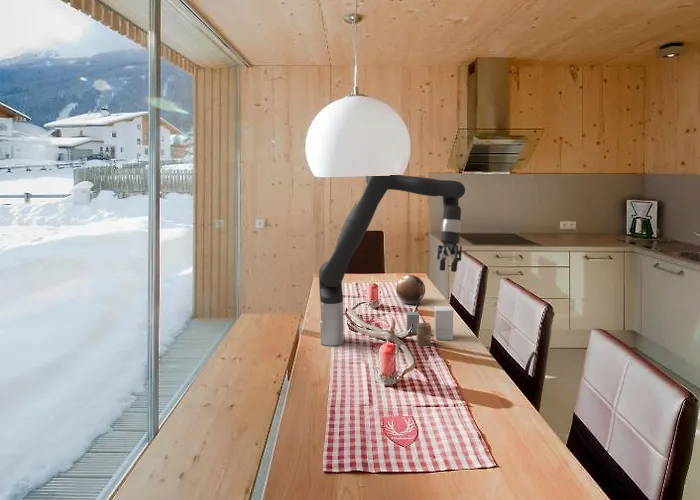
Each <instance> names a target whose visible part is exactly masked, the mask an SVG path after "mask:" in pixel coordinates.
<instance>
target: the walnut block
mask: <svg viewBox="0 0 700 500" xmlns="http://www.w3.org/2000/svg"><path fill="white" fill-rule="evenodd" d="M431 339H432V326H431V323H430V322H419V323H417V333H416V343H417V346H418V347H429V346H430V347H431V346H432V340H431Z"/></svg>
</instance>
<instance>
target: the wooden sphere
mask: <svg viewBox="0 0 700 500" xmlns="http://www.w3.org/2000/svg"><path fill="white" fill-rule="evenodd" d="M395 289H396V291H395V292H396V295H397V298H398V299H399V300H400V301H401V302H403V303H404V304H407V305H415V304H418V303H419V302H420V301H422V299H423V298H424V297H425V295H426V294H425V293H426V286H425V283H424V281H423V280H422V279H421V278H419V277H418V276H416V275H411V274H410V275H406V276H403V277H401V278H400V279H399V280H398V282H397V284H396V287H395Z"/></svg>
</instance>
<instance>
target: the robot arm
mask: <svg viewBox="0 0 700 500" xmlns="http://www.w3.org/2000/svg"><path fill="white" fill-rule="evenodd" d="M365 181H366V185H365V186H366V187H365V188H364V191H363V193H362V196H361V197H360V199H359V200H358V201H357V203H356V204H355V205H354V206H353V208H352V209H351V210H350V212H349V214H348V215H347V217H346V219H345V221H344V222H343V225H342V227H341V229H340V232H339V236H338V239H337V241H336V245H335V248H334V250H333V253H332V254H331V256H330V258H329V260H328V261H325V262H324V263H322V264H321V266H320V268H319V271H318V280H319V282H318V283H319V287H318V288H319V298H320V299H319V302H320V306H319V307H320V322H319V328H320V329H319V330H320V345H322V346H323V345H324V346H331V347H332V346H340V345H343V344H344V342H345V341H344V340H345V336H344V335H345V334H344V295H343V294H344V292H343V279H344V277H345V274H346V272H347V268H348V267H349V264H350V261H351V259H352V257H353V255H354V254H355V252H356V251H357V249H358V247H359V246H360V244H361V241H362V240H363V238H364V236H365V234H366V232H367V230H368V228H369V226H370V224H371V222H372V220H373V218H374V215H375V212H376V210H377V208H378V206H379V204H380V202H381V201H382V199H383V197H384V196H385V195H386V193H387V191H388V190H393V191H402V192H407V193H410V194H416V195H421V196H427V197H428V196H429V197H442V204H443V216H442V222H441V230H440V231H441V233H440V243H442V244H438V247H437V255H436V259H437V260H439V271H443V272H444V271H445V270H446V261H447V259H448V258H450V259H451V265H450V266H451V267H450V271H451V272H453V273H455V272H456V273H457V270H458V263H459V262H461V261H462V255H463V254H462V251H463V247H462V245H459V244H460V242H461V241H460V240H461V239H460V238H461V227H462V225H461V219H462V218H461V217H462V216H461V215H462V209H461V206H460V204H459V199H460V198H463V196H464V195H465V193H466V187H465V185H464V184H463V182H460V181H456V180H449V179H448V180H444V179H436V178H431V177H424V176H413V175H404V174H398V175H390V176H367V175H366V176H365Z"/></svg>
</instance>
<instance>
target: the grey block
mask: <svg viewBox="0 0 700 500" xmlns="http://www.w3.org/2000/svg"><path fill="white" fill-rule="evenodd" d="M412 322H413V327H412V333H411V334H417V323H420V313H419V311H406V332H407V331H408V330H409V329H410V327H411V324H412Z"/></svg>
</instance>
